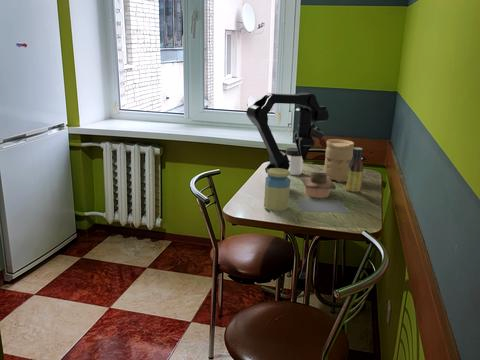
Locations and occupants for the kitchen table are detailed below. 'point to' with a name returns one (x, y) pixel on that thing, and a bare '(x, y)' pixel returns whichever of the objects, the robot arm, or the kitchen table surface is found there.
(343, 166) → the container
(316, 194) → the terracotta bowl
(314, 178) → the walnut cover
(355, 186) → the sauce bottle
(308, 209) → the charcoal mat
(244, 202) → the kitchen table surface
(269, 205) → the jar
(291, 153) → the jar
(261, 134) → the robot arm
